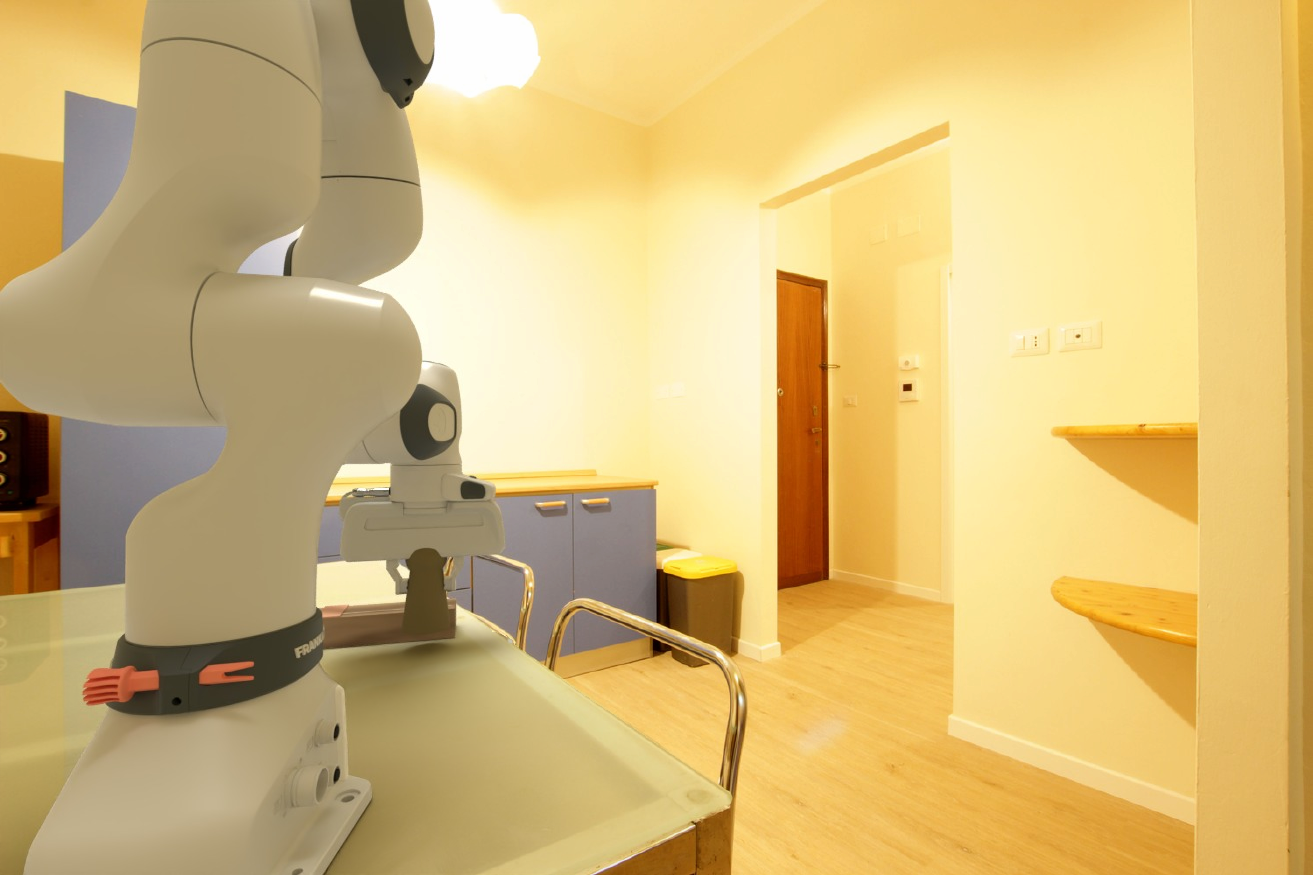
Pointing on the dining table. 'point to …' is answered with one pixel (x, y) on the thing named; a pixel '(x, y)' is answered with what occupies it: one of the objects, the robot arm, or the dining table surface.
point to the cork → (425, 594)
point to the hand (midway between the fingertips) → (426, 591)
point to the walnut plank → (374, 625)
